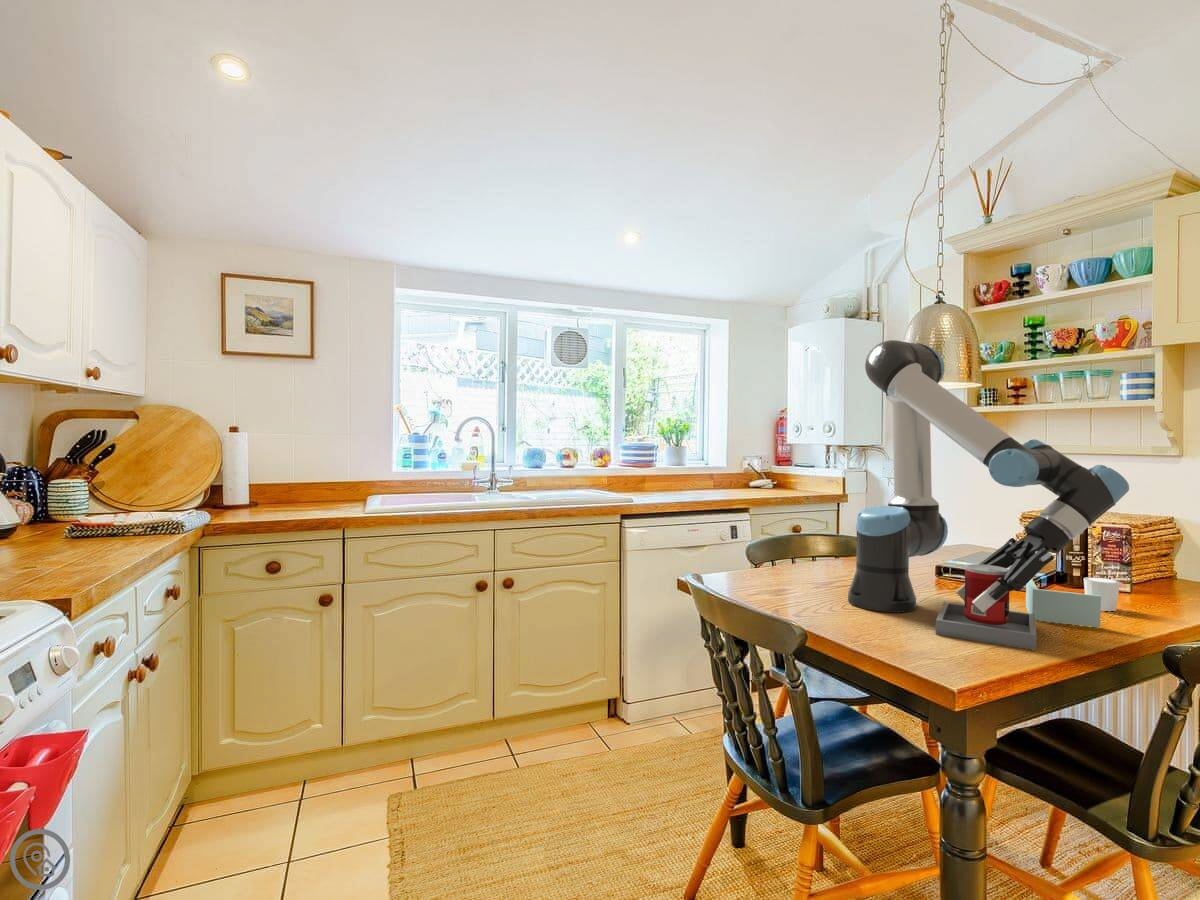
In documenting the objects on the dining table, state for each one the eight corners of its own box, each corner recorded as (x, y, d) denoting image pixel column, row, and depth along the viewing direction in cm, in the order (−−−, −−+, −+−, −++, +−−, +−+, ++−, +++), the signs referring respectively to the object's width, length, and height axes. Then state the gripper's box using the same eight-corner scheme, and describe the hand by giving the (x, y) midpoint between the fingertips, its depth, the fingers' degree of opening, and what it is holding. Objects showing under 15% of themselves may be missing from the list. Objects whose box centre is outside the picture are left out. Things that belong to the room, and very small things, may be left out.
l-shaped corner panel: (1100, 631, 133) (1100, 596, 133) (1032, 622, 139) (1033, 589, 139) (1088, 616, 144) (1089, 584, 143) (1025, 609, 149) (1026, 578, 149)
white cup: (1116, 614, 143) (1117, 584, 143) (1079, 608, 149) (1080, 579, 148) (1122, 609, 148) (1122, 580, 148) (1086, 603, 153) (1086, 575, 153)
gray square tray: (935, 634, 128) (935, 620, 128) (943, 614, 142) (944, 601, 142) (1036, 650, 119) (1036, 635, 119) (1034, 628, 133) (1034, 614, 133)
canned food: (1015, 626, 126) (1016, 572, 126) (972, 624, 128) (973, 570, 127) (999, 615, 134) (1000, 565, 133) (958, 613, 135) (959, 563, 135)
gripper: (1100, 550, 118) (1005, 630, 121) (1041, 533, 138) (961, 602, 141) (1070, 521, 118) (976, 601, 121) (1015, 508, 139) (937, 577, 142)
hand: (968, 601), depth 131 cm, fingers closed on canned food, 8 cm apart
